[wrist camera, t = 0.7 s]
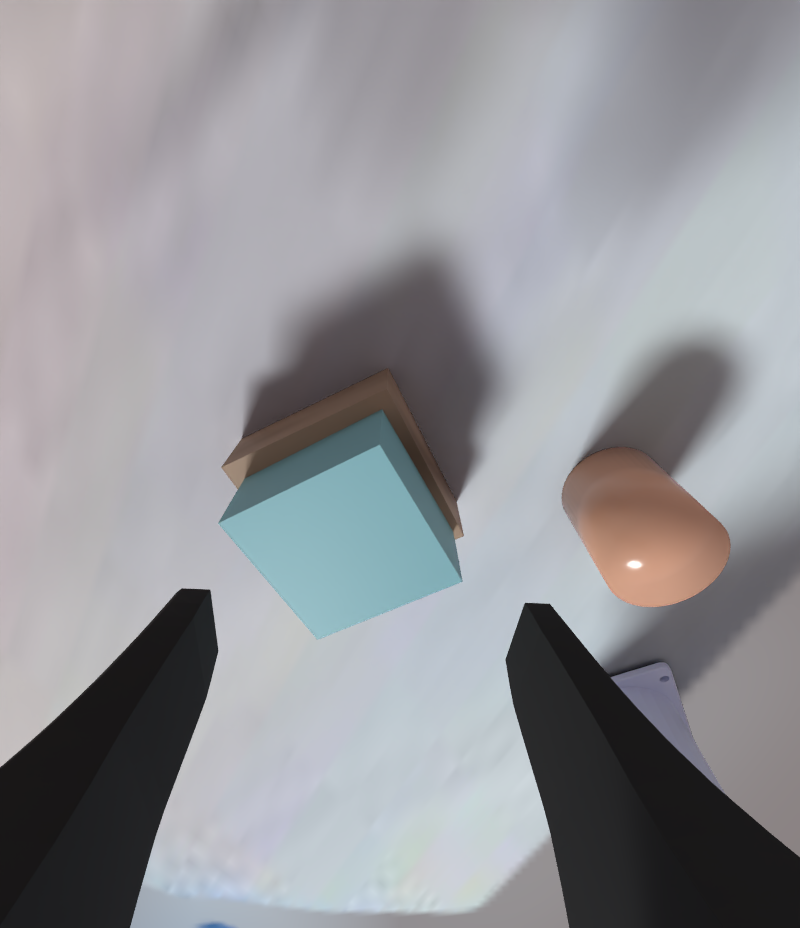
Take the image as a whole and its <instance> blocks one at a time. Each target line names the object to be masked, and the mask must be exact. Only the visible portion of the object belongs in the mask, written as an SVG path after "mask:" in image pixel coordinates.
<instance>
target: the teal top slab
mask: <svg viewBox="0 0 800 928" xmlns="http://www.w3.org/2000/svg"><path fill="white" fill-rule="evenodd" d="M218 524H219V525H220V526H221V527H222V528H223V530H224V531H225V532H226V533H227V534H228V535H229V537H230V538H231V539H232V540H233V541H234V542H235V544H236V545H237V546H238V547H239V548H240V550H241V551H242V552H243V553H244V554H245V555H246V557H247V558H248V559H249V560H250V561H251V562H252V564H253V565H254V566H255V567H256V568H257V569H258V571H259V572H260V573H261V574H262V575H263V576H264V578H265V579H266V580H267V581H268V582H269V583H270V585H271V586H272V587H273V588H274V589H275V591H276V592H277V593H278V594H279V595H280V596H281V598H282V599H283V600H284V601H285V602H286V603H287V605H288V606H289V607H290V608H291V609H292V610H293V612H294V613H295V614H296V615H297V616H298V617H299V619H300V620H301V621H302V622H303V623H304V624H305V626H306V627H307V628H308V629H309V630H310V631H311V633H312V634H313V635H314V636H315V637H316V639H317V640H318V639H321V638H323V637H326V636H328V635H331V634H333V633H336V632H338V631H341V630H343V629H346V628H348V627H351V626H353V625H355V624H358V623H360V622H363V621H365V620H368V619H370V618H373V617H375V616H378V615H380V614H383V613H385V612H388V611H390V610H393V609H395V608H398V607H400V606H403V605H405V604H408V603H410V602H413V601H415V600H418V599H420V598H423V597H425V596H428V595H430V594H433V593H435V592H438V591H440V590H443V589H445V588H448V587H450V586H453V585H455V584H458V583H460V582H462V576H461V571H460V566H459V560H458V555H457V549H456V544H455V539H454V533H453V530H452V529H451V527H450V525H449V523H448V522H447V520H446V518H445V517H444V515H443V513H442V511H441V510H440V508H439V506H438V504H437V503H436V501H435V499H434V498H433V496H432V494H431V492H430V491H429V489H428V487H427V486H426V484H425V482H424V480H423V479H422V477H421V475H420V473H419V472H418V470H417V468H416V467H415V465H414V463H413V461H412V460H411V458H410V456H409V454H408V453H407V451H406V449H405V448H404V446H403V444H402V442H401V441H400V439H399V437H398V435H397V434H396V432H395V430H394V429H393V427H392V425H391V423H390V422H389V420H388V418H387V416H386V415H385V413H384V411H383V410H382V409H381V410H379V411H377V412H375V413H373V414H371V415H369V416H367V417H366V418H364V419H362V420H360V421H358V422H356V423H354V424H352V425H350V426H348V427H346V428H344V429H342V430H340V431H338V432H336V433H334V434H332V435H330V436H328V437H326V438H324V439H322V440H320V441H318V442H316V443H314V444H312V445H310V446H308V447H306V448H304V449H302V450H300V451H298V452H296V453H294V454H292V455H290V456H288V457H286V458H284V459H282V460H280V461H278V462H276V463H274V464H272V465H270V466H268V467H267V468H265V469H263V470H261V471H259V472H257V473H255V474H253V475H251V476H249V477H247V478H245V479H244V480H243V482H242V484H241V486H240V487H239V489H238V491H237V492H236V494H235V496H234V497H233V499H232V501H231V502H230V504H229V506H228V507H227V509H226V511H225V513H224V514H223V516H222V518H221V519H220V521H219V523H218Z"/></svg>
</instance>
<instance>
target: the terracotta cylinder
mask: <svg viewBox="0 0 800 928" xmlns="http://www.w3.org/2000/svg"><path fill="white" fill-rule="evenodd" d="M562 505H563V508H564V510H565V512H566V514H567V516H568V518H569V519H570V521H571V523H572V525H573V526H574V528H575V530H576V532H577V533H578V535H579V537H580V539H581V540H582V542H583V544H584V545H585V547H586V549H587V551H588V552H589V554H590V556H591V558H592V559H593V561H594V563H595V564H596V566H597V568H598V570H599V571H600V573H601V575H602V577H603V578H604V580H605V582H606V583H607V585H608V587H609V588H610V590H611V591H612V592H613V593H614V594H615V595H616V596H617V597H618V598H620V599H621V600H623V601H625V602H627V603H630V604H633V605H637V606H643V607H660V606H667V605H671V604H675V603H678V602H681V601H684V600H686V599H688V598H690V597H693V596H694V595H696V594H698V593H699V592H701V591H702V590H704V589H705V588H707V587H708V586H709V585H710V584H711V583H712V582H713V581H714V580H715V579H716V578H717V577H718V576H719V574H720V573H721V572H722V570H723V569H724V567H725V565H726V563H727V560H728V558H729V554H730V539H729V535H728V533H727V531H726V529H725V528H724V526H723V525H722V524H721V523H720V522H719V521H718V520H717V519H716V518H715V517H714V516H713V515H712V514H711V513H709V512H708V511H707V510H706V509H705V508H704V507H703V506H702V505H701V504H700V503H699V502H698V501H697V500H695V499H694V498H693V497H692V496H691V495H690V494H689V493H688V492H687V491H686V490H685V489H684V488H683V487H682V486H680V485H679V484H678V483H677V482H676V481H675V480H674V479H673V478H672V477H671V476H670V475H669V474H668V473H667V472H665V471H664V470H663V469H662V468H661V467H660V466H659V465H658V464H657V463H656V462H655V461H654V460H653V459H652V458H650V457H649V456H648V455H647V454H645V453H643V452H642V451H639V450H637V449H633V448H627V447H615V448H609V449H604V450H601V451H598V452H596V453H594V454H592V455H590V456H588V457H587V458H585V459H584V460H583V461H581V462H580V463H579V464H578V465H577V466H576V467H575V468H574V469H573V470H572V471H571V473H570V474H569V476H568V477H567V479H566V481H565V483H564V486H563V490H562Z"/></svg>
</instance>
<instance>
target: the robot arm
mask: <svg viewBox="0 0 800 928" xmlns="http://www.w3.org/2000/svg"><path fill="white" fill-rule="evenodd" d="M217 654H218V645H217V637H216V630H215V622H214V615H213V607H212V599H211V592H210V590H205V589H181V590H179V591H178V592H177V593H176V594H175V595H174V596H173V597H172V599H171V600H170V601H169V602H168V603H167V604H166V605H165V607H164V608H163V609H162V610H161V611H160V612H159V613H158V615H157V616H156V617H155V618H154V619H153V620H152V621H151V622H150V623H149V625H148V626H147V627H146V628H145V629H144V630H143V631H142V632H141V633H140V634H139V636H138V637H137V638H136V639H135V640H134V641H133V642H132V643H131V644H130V645H129V646H128V647H127V648H126V649H125V650H124V652H123V653H122V654H121V655H120V656H119V657H118V658H117V659H116V660H115V661H114V662H113V663H112V664H111V665H110V666H109V667H108V668H107V669H106V670H105V671H104V672H103V673H102V674H101V675H100V676H99V677H98V678H97V679H96V680H95V681H94V682H93V683H92V684H91V685H90V686H89V687H88V688H87V689H86V690H85V691H84V692H83V693H82V694H81V695H80V696H79V697H78V698H77V699H76V700H75V701H74V702H73V703H72V704H71V705H70V706H68V707H67V708H66V709H65V710H64V711H63V712H62V713H61V714H60V715H59V716H58V717H57V718H56V719H55V720H54V721H53V722H52V723H50V724H49V725H48V726H47V727H46V728H45V729H44V730H43V731H42V732H41V733H39V734H38V735H37V736H36V737H35V738H34V739H33V740H32V741H30V742H29V743H28V744H27V745H26V746H25V747H24V748H22V749H21V750H20V751H19V752H18V753H17V754H15V755H14V756H13V757H12V758H11V759H10V760H8V761H7V762H6V763H5V764H4V765H3V766H1V767H0V928H130V925H131V922H132V918H133V914H134V910H135V907H136V903H137V899H138V896H139V892H140V889H141V885H142V882H143V878H144V875H145V871H146V868H147V864H148V861H149V857H150V854H151V850H152V847H153V843H154V840H155V836H156V833H157V830H158V827H159V824H160V821H161V819H162V816H163V813H164V810H165V807H166V804H167V802H168V799H169V796H170V794H171V791H172V788H173V786H174V783H175V780H176V778H177V775H178V772H179V770H180V767H181V764H182V762H183V759H184V756H185V754H186V751H187V748H188V746H189V743H190V741H191V738H192V735H193V733H194V730H195V727H196V724H197V722H198V719H199V716H200V714H201V711H202V708H203V705H204V703H205V700H206V697H207V693H208V689H209V686H210V682H211V678H212V674H213V670H214V666H215V662H216V658H217ZM506 665H507V671H508V677H509V683H510V689H511V694H512V699H513V705H514V708H515V712H516V715H517V719H518V722H519V726H520V729H521V732H522V736H523V739H524V743H525V746H526V749H527V753H528V756H529V759H530V763H531V766H532V770H533V773H534V776H535V780H536V783H537V786H538V790H539V793H540V796H541V800H542V803H543V806H544V810H545V814H546V818H547V822H548V825H549V829H550V833H551V838H552V843H553V847H554V852H555V857H556V862H557V867H558V871H559V876H560V881H561V886H562V891H563V896H564V901H565V907H566V912H567V917H568V923H569V928H800V857H799V856H798V855H796V854H795V853H794V852H792V851H791V850H790V849H789V848H788V847H786V846H785V845H784V844H783V843H782V842H780V841H779V840H778V839H777V838H775V837H774V836H773V835H772V834H771V833H769V832H768V831H767V830H766V829H765V828H764V827H762V826H761V825H760V824H759V823H758V822H756V821H755V820H754V819H753V818H752V817H751V816H749V815H748V814H747V813H746V812H745V811H744V810H743V809H741V808H740V807H739V806H738V805H737V804H735V803H734V802H733V801H732V800H731V799H730V798H729V797H728V796H727V795H725V793H724V791H723V789H722V788H721V786H720V784H719V782H718V781H717V779H716V777H715V775H714V774H713V772H712V770H711V768H710V767H709V765H708V763H707V762H706V760H705V758H704V757H703V754H702V753H701V751H700V749H699V747H698V746H697V744H696V742H695V740H694V739H693V736H692V733H691V730H690V727H689V724H688V721H687V718H686V715H685V711H684V708H683V705H682V702H681V699H680V696H679V693H678V689H677V686H676V683H675V680H674V677H673V674H672V671H671V669H670V667H669V666H668V664H667V663H664V662H659V663H655V664H652V665H648V666H645V667H642V668H639V669H635V670H632V671H629V672H626V673H622V674H619V675H616V676H613V677H610V676H609V675H608V674H607V673H606V672H605V671H604V669H603V668H602V667H601V666H600V665H599V663H598V662H597V661H596V660H595V659H594V657H593V656H592V655H591V654H590V653H589V651H588V650H587V649H586V648H585V647H584V645H583V644H582V643H581V642H580V640H579V639H578V638H577V637H576V635H575V634H574V633H573V632H572V631H571V629H570V628H569V627H568V626H567V624H566V623H565V622H564V621H563V619H562V618H561V617H560V616H559V615H558V613H557V612H556V611H555V610H554V608H553V607H552V606H551V605H550V604H538V603H525V604H524V607H523V610H522V613H521V616H520V619H519V622H518V625H517V628H516V630H515V633H514V636H513V639H512V642H511V645H510V648H509V651H508V654H507V657H506Z"/></svg>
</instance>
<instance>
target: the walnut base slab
mask: <svg viewBox="0 0 800 928" xmlns="http://www.w3.org/2000/svg"><path fill="white" fill-rule="evenodd" d="M381 409H382V410H383V411H384V413H385V415H386V416H387V418H388V420H389V422H390V423H391V425H392V427H393V429H394V430H395V432H396V434H397V435H398V437H399V439H400V441H401V442H402V444H403V446H404V448H405V449H406V451H407V453H408V454H409V456H410V458H411V460H412V461H413V463H414V465H415V467H416V468H417V470H418V472H419V473H420V475H421V477H422V479H423V480H424V482H425V484H426V486H427V487H428V489H429V491H430V492H431V494H432V496H433V498H434V499H435V501H436V503H437V504H438V506H439V508H440V510H441V511H442V513H443V515H444V517H445V518H446V520H447V522H448V523H449V525H450V527H451V529H452V530H453V533H454V539H458V538H460V537H463V536H464V534H463V530H462V525H461V521H460V516H459V511H458V507H457V502H456V500H455V498H454V496H453V494H452V492H451V490H450V488H449V486H448V484H447V483H446V481H445V479H444V477H443V475H442V473H441V471H440V469H439V467H438V465H437V463H436V461H435V459H434V457H433V455H432V453H431V451H430V449H429V447H428V445H427V443H426V441H425V439H424V437H423V435H422V433H421V432H420V430H419V428H418V426H417V424H416V422H415V420H414V418H413V416H412V414H411V412H410V410H409V408H408V406H407V404H406V402H405V400H404V398H403V396H402V394H401V392H400V390H399V388H398V386H397V384H396V382H395V381H394V379H393V377H392V375H391V373H390V371H389V369H388V368H387V369H385V370H383V371H381V372H379V373H377V374H375V375H373V376H371V377H368V378H366V379H364V380H362V381H360V382H358V383H356V384H354V385H352V386H350V387H348V388H346V389H344V390H342V391H340V392H337V393H335V394H333V395H331V396H329V397H327V398H325V399H323V400H321V401H319V402H317V403H315V404H313V405H311V406H309V407H306V408H304V409H302V410H300V411H298V412H296V413H294V414H292V415H290V416H288V417H286V418H284V419H282V420H280V421H278V422H276V423H273V424H271V425H269V426H267V427H265V428H263V429H261V430H259V431H257V432H255V433H253V434H251V435H249V436H247V437H245V438H242V439H241V441H240V442H239V443H238V445H237V446H236V448H235V449H234V450H233V452H232V453H231V455H230V456H229V457H228V459H227V460H226V462H225V463H224V464H223V466H222V467H221V468H222V469H223V470H224V472H225V473H226V474H227V476H228V477H229V478H230V480H231V481H232V482H233V484H234V485H235V486H236V488H237V489H239V487H240V486H241V484H242V482H243V480H244V479H245V478H247V477H249V476H251V475H253V474H255V473H257V472H259V471H261V470H263V469H265V468H267V467H268V466H270V465H272V464H274V463H276V462H278V461H280V460H282V459H284V458H286V457H288V456H290V455H292V454H294V453H296V452H298V451H300V450H302V449H304V448H306V447H308V446H310V445H312V444H314V443H316V442H318V441H320V440H322V439H324V438H326V437H328V436H330V435H332V434H334V433H336V432H338V431H340V430H342V429H344V428H346V427H348V426H350V425H352V424H354V423H356V422H358V421H360V420H362V419H364V418H366V417H367V416H369V415H371V414H373V413H375V412H377V411H379V410H381Z"/></svg>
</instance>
